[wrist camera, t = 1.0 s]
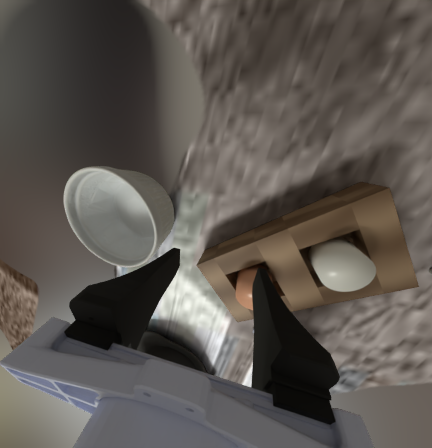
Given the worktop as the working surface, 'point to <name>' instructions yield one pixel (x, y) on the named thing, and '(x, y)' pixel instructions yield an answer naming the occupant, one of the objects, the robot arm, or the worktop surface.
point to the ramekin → (118, 213)
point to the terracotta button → (247, 285)
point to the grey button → (341, 265)
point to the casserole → (169, 351)
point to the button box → (310, 235)
